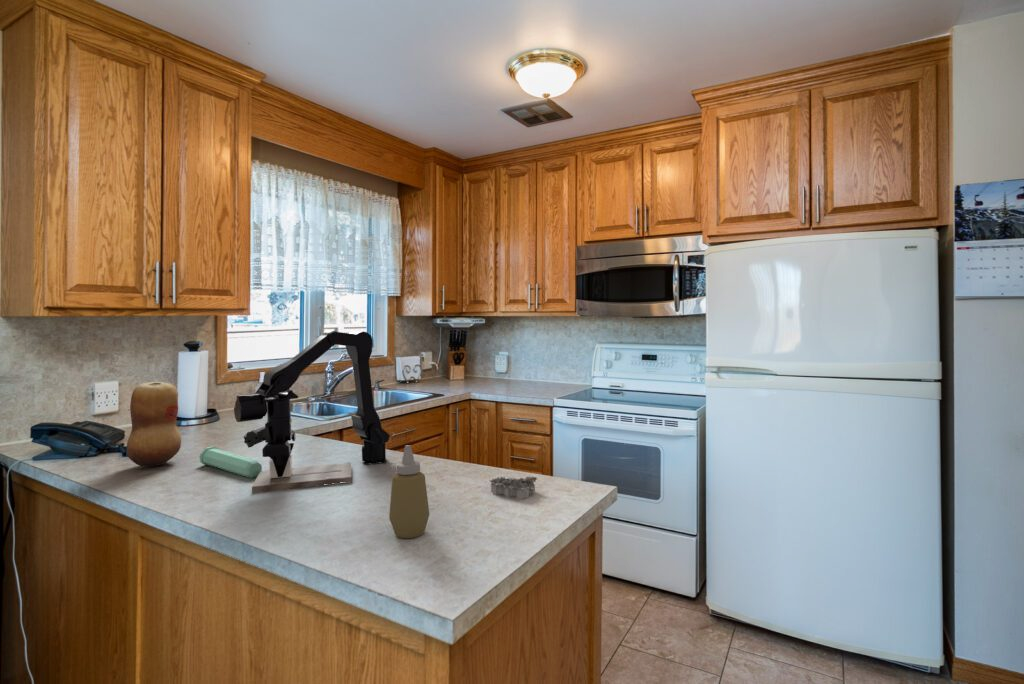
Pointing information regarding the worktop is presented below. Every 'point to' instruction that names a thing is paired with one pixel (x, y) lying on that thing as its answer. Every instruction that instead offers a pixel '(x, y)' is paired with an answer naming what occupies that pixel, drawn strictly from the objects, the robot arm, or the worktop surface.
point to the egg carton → (513, 487)
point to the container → (230, 462)
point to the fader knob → (286, 472)
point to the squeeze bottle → (408, 498)
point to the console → (304, 477)
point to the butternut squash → (153, 424)
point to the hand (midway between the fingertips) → (281, 474)
